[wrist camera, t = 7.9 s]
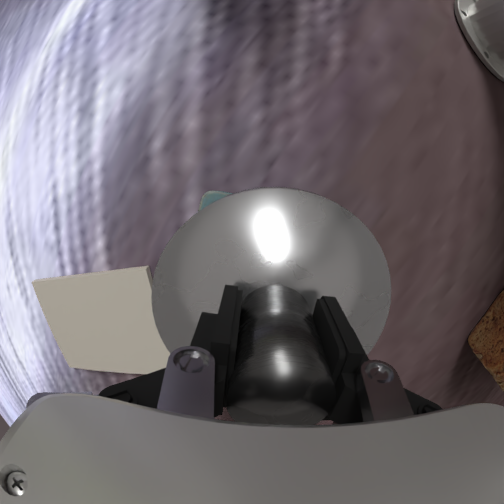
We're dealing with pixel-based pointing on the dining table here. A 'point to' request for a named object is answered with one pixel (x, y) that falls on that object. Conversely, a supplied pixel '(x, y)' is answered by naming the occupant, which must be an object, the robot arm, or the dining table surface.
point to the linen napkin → (104, 320)
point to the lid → (273, 294)
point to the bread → (491, 340)
